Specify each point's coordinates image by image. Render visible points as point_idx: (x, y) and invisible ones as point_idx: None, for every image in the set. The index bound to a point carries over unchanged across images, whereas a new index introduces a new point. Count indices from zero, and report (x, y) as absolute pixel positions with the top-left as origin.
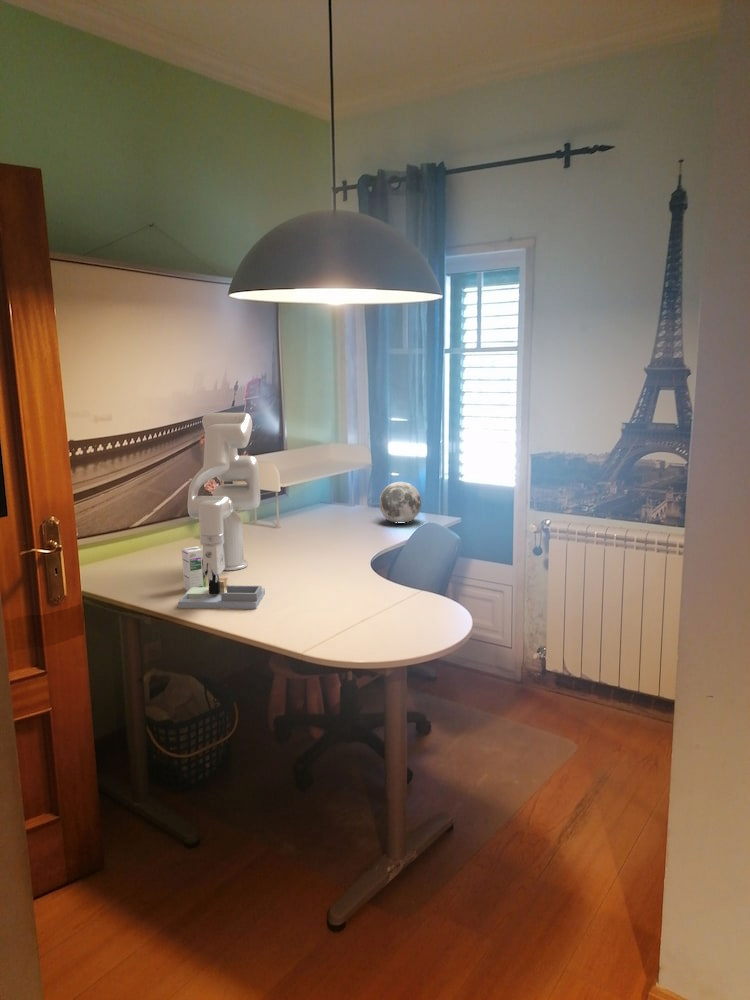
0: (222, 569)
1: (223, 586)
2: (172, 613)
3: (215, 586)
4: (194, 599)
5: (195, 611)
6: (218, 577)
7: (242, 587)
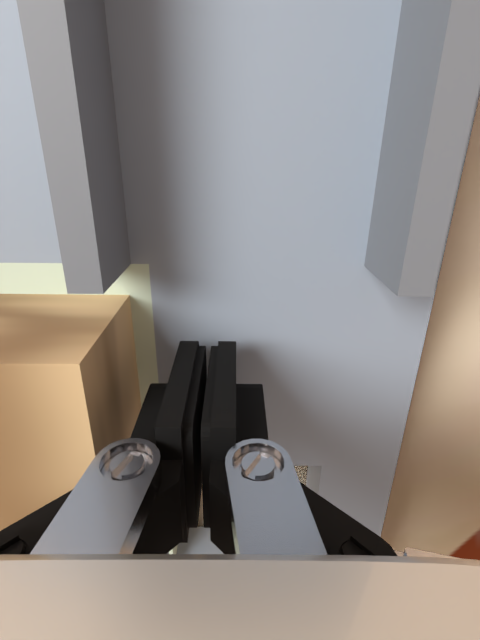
0: (88, 618)
1: (104, 334)
2: (461, 539)
3: (264, 423)
4: (324, 498)
5: (450, 425)
6: (147, 488)
7: (74, 8)
